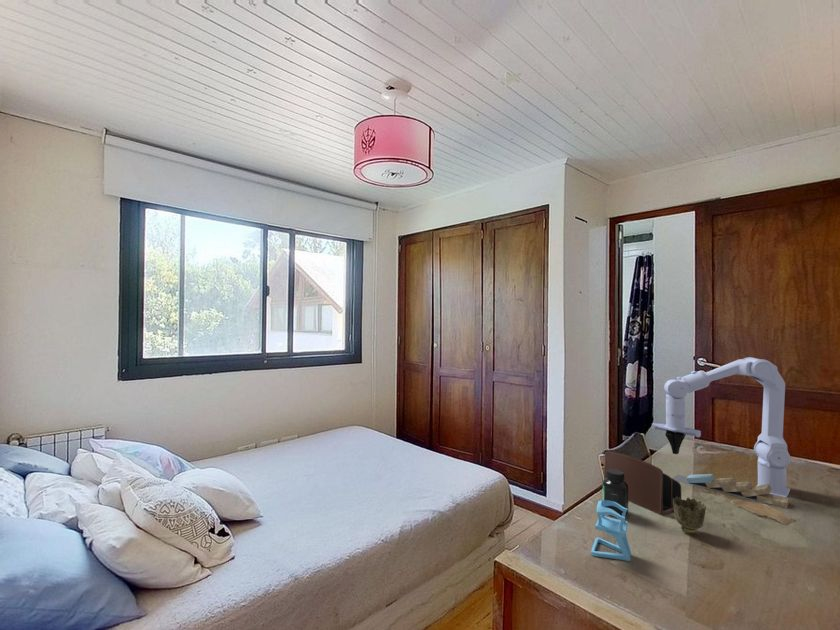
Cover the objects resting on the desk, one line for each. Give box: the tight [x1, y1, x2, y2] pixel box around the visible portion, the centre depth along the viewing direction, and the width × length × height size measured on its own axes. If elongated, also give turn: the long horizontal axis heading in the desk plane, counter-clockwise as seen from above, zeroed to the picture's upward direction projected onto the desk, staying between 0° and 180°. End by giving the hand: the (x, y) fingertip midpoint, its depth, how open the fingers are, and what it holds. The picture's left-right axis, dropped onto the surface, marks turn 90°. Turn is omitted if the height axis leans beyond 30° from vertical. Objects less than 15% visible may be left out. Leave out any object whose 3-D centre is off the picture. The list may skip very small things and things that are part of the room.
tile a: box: [706, 477, 736, 488], centre depth 136 cm, size 2×5×7 cm
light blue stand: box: [590, 499, 632, 562], centre depth 99 cm, size 8×8×12 cm
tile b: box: [722, 481, 753, 492], centre depth 132 cm, size 2×5×7 cm
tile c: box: [741, 484, 772, 497], centre depth 129 cm, size 2×5×7 cm
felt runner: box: [671, 474, 768, 505], centre depth 137 cm, size 7×26×1 cm, turn 43°
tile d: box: [756, 494, 790, 509], centre depth 126 cm, size 2×5×7 cm
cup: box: [673, 496, 707, 536], centre depth 109 cm, size 8×7×8 cm
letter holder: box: [603, 451, 683, 516], centre depth 129 cm, size 10×20×14 cm, turn 27°
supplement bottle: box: [602, 469, 629, 518], centre depth 120 cm, size 7×7×12 cm
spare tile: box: [686, 473, 715, 483], centre depth 140 cm, size 2×5×7 cm
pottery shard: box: [730, 498, 796, 526], centre depth 120 cm, size 8×16×2 cm, turn 11°
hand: (675, 453), depth 143 cm, fingers closed
